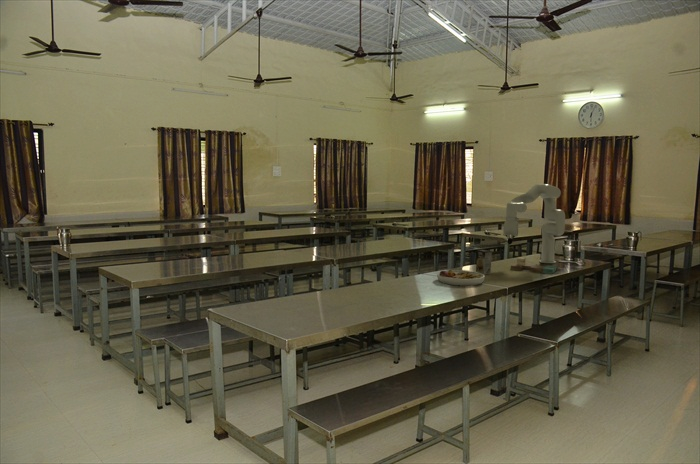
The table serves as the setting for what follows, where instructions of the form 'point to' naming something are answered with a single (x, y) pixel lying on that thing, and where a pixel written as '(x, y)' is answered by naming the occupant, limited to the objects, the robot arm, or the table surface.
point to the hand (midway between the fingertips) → (509, 243)
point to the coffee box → (483, 261)
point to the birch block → (521, 261)
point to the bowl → (460, 277)
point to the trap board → (534, 268)
